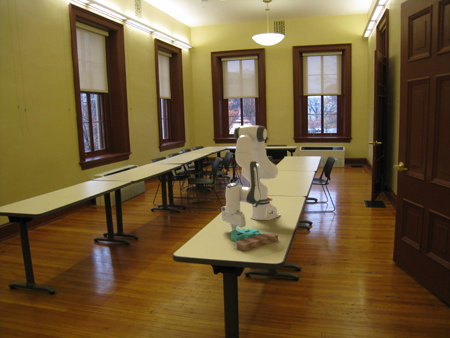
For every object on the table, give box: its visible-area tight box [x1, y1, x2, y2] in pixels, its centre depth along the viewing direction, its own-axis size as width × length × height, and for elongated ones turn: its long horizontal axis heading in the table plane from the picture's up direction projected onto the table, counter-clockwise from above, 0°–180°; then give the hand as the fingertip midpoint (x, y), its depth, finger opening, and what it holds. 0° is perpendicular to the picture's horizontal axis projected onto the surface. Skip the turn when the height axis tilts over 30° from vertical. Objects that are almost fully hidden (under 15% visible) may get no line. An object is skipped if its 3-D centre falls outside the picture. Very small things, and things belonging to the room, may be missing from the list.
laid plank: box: [234, 231, 279, 252], centre depth 207 cm, size 26×8×3 cm, turn 127°
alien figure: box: [230, 228, 268, 242], centre depth 220 cm, size 20×2×20 cm
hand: (234, 230), depth 228 cm, fingers closed
